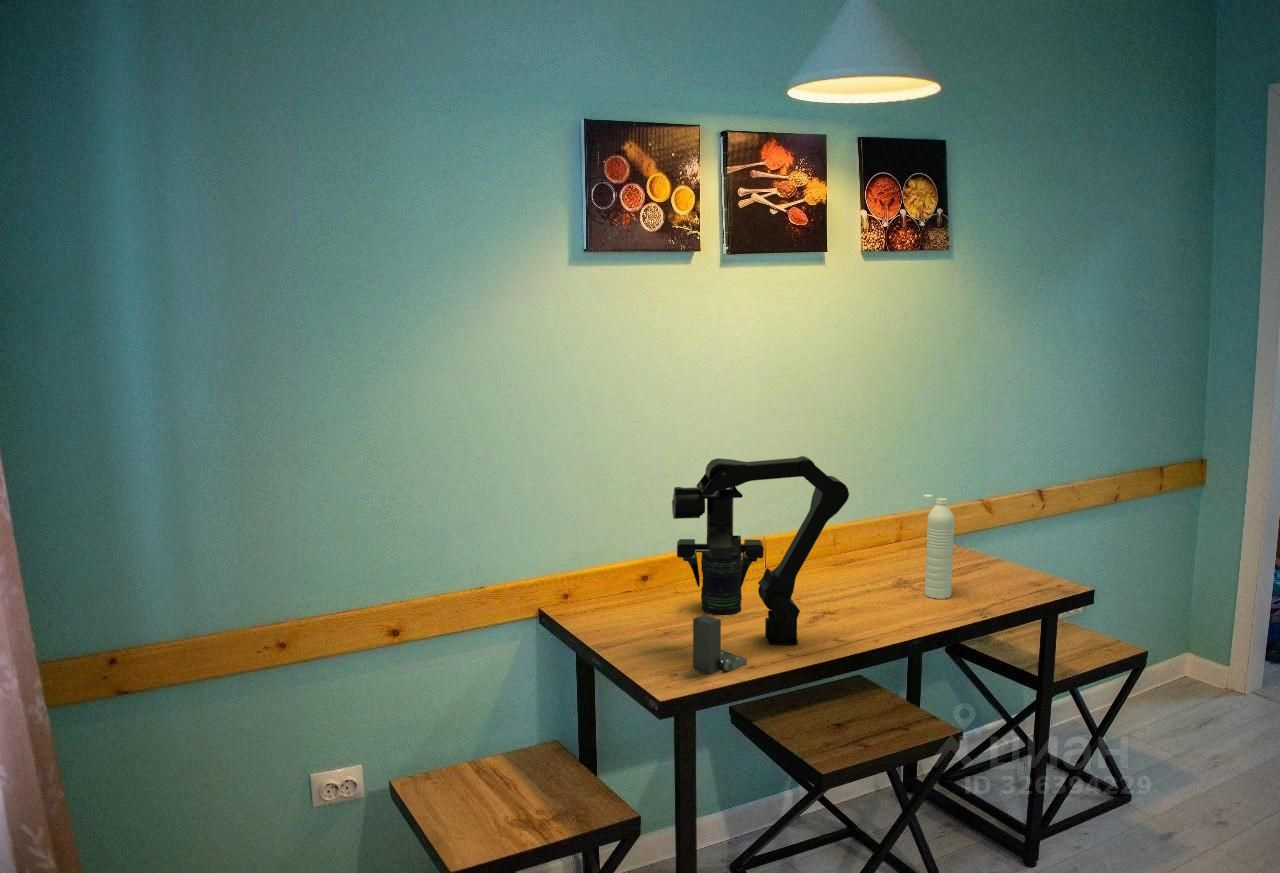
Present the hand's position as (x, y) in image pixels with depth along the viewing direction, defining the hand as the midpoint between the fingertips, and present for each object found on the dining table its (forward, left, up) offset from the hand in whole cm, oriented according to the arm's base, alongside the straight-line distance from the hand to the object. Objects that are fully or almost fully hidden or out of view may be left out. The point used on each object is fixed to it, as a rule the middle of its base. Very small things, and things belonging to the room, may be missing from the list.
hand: (719, 586), depth 237 cm
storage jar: (-1, -23, -13) cm, 27 cm away
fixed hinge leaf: (0, +12, -13) cm, 18 cm away
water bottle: (-55, -36, -13) cm, 67 cm away
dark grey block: (+3, +16, -13) cm, 21 cm away
